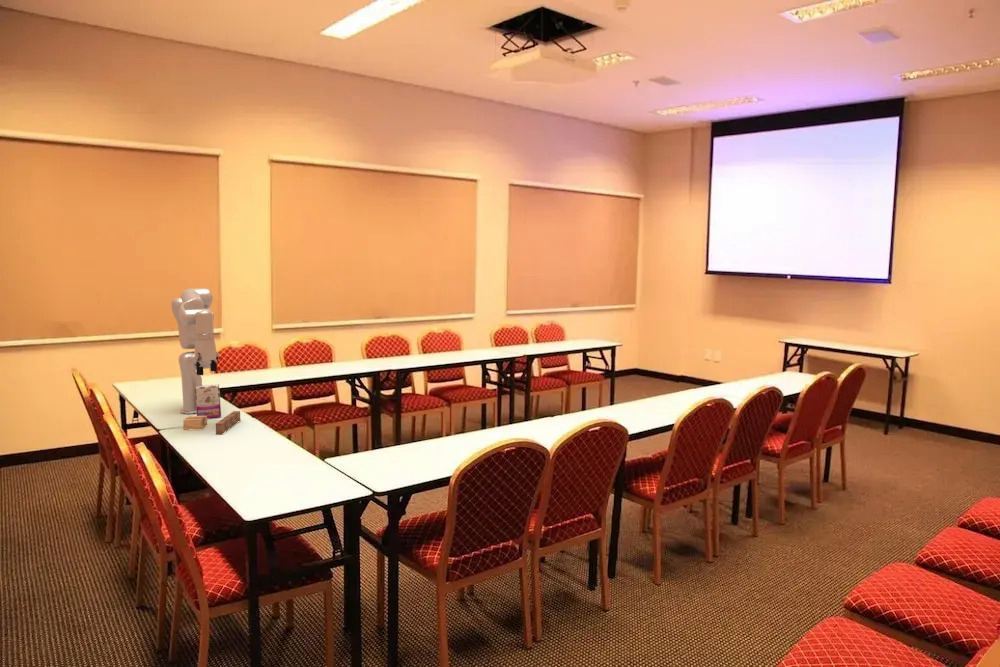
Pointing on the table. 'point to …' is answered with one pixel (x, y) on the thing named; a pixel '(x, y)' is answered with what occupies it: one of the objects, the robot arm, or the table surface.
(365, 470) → the table surface
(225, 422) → the rail
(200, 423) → the block
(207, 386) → the candy bar box
